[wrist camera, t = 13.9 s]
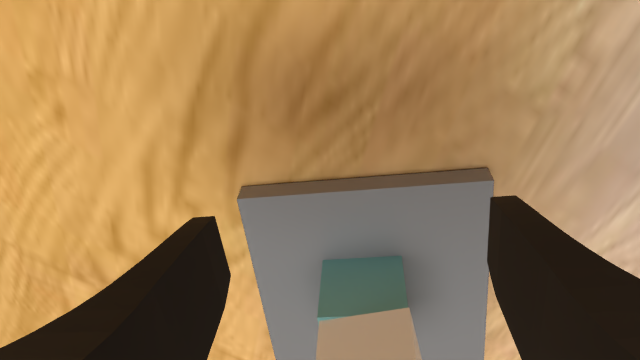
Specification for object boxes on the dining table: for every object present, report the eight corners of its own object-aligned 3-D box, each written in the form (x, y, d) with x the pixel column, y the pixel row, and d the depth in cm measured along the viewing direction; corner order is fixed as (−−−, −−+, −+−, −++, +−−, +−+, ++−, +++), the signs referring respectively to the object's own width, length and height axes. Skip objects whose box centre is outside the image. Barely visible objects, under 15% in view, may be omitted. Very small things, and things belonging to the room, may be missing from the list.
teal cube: (401, 255, 24) (409, 313, 21) (404, 314, 26) (411, 376, 23) (322, 260, 25) (317, 317, 21) (331, 316, 27) (327, 378, 23)
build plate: (487, 167, 23) (493, 180, 22) (479, 345, 29) (483, 362, 28) (242, 186, 24) (236, 199, 23) (280, 352, 30) (277, 368, 29)
